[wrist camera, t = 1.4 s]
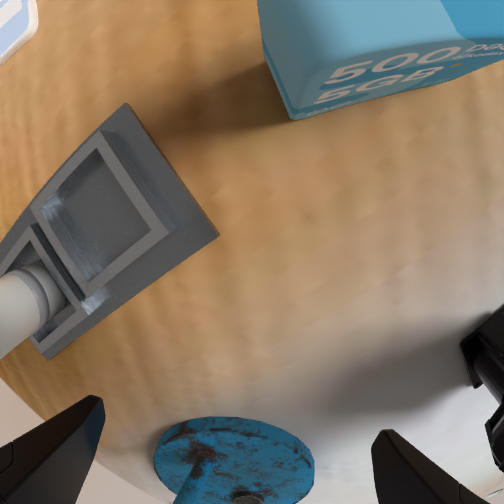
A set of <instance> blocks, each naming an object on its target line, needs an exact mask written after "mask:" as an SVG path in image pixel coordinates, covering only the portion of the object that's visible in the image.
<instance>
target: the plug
mask: <svg viewBox="0 0 504 504" xmlns="http://www.w3.org/2000/svg"><path fill="white" fill-rule="evenodd" d="M64 305H65V294H64V293H63V291H62V290H61V288H60V287H59V285H58V284H57V282H56V281H55V279H54V278H53V276H52V275H51V273H50V272H49V270H48V269H47V267H46V266H45V264H44V262H42V261H34V262H32V263H30V264H28V265H26V266H24V267H22V268H18V269H15V270H13V271H11V272H9V273H7V274H5V275H3V276H2V277H1V278H0V359H2V358H3V357H4V356H5V355H6V354H8V353H9V352H10V351H11V350H13V349H14V348H15V347H16V346H17V345H19V344H20V343H21V342H22V341H24V340H25V339H26V338H27V337H29V336H30V335H32V334H34V333H36V332H37V331H38V330H40V329H41V328H42V327H44V326H45V325H46V324H47V322H48V321H49V320H51V319H52V318H53V317H54V316H56V315H57V314H58V313H60V312H61V311H62V309H63V307H64Z"/></svg>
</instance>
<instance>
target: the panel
mask: <svg viewBox="0 0 504 504" xmlns="http://www.w3.org/2000/svg"><path fill="white" fill-rule="evenodd" d="M219 235H220V234H219V232H218V231H217V229H216V228H215V227H214V225H213V224H212V222H211V221H210V220H209V218H208V217H207V215H206V214H205V213H204V211H203V210H202V208H201V207H200V206H199V204H198V203H197V201H196V200H195V198H194V197H193V196H192V194H191V193H190V191H189V190H188V189H187V187H186V186H185V184H184V183H183V181H182V180H181V179H180V177H179V176H178V174H177V173H176V171H175V170H174V169H173V167H172V166H171V164H170V163H169V161H168V160H167V159H166V157H165V156H164V154H163V153H162V151H161V150H160V149H159V147H158V146H157V144H156V143H155V141H154V140H153V138H152V137H151V136H150V134H149V133H148V131H147V130H146V128H145V127H144V125H143V124H142V123H141V121H140V120H139V118H138V117H137V115H136V114H135V112H134V111H133V110H132V108H131V107H130V105H129V104H127V103H124V104H123V105H122V106H121V107H120V108H119V109H117V110H116V111H115V112H114V113H113V114H112V115H111V116H110V117H109V118H108V119H107V120H106V121H104V122H103V123H102V124H101V125H100V126H99V127H98V128H97V129H96V130H95V131H94V132H93V133H92V134H91V135H90V136H89V137H88V138H87V139H86V140H85V141H84V142H83V143H82V144H81V145H80V146H79V147H78V148H77V149H76V150H75V151H74V153H73V154H72V155H71V156H70V157H69V158H68V159H67V160H66V161H65V162H64V163H63V164H62V166H61V167H60V168H59V169H58V170H57V171H56V172H55V173H54V175H53V176H52V177H51V178H50V179H49V180H48V182H47V183H46V184H45V185H44V186H43V188H42V189H41V190H40V191H39V192H38V194H37V195H36V196H35V197H34V199H33V200H32V201H31V202H30V204H29V205H28V206H27V208H26V209H25V210H24V211H23V213H22V214H21V215H20V217H19V218H18V219H17V221H16V222H15V224H14V225H13V226H12V228H11V229H10V230H9V232H8V233H7V235H6V236H5V238H4V239H3V241H2V242H1V243H0V278H1V277H2V276H3V275H5V274H7V273H9V272H11V271H13V270H15V269H18V268H22V267H24V266H26V265H28V264H30V263H32V262H34V261H42V262H44V264H45V266H46V267H47V269H48V270H49V272H50V273H51V275H52V276H53V278H54V279H55V281H56V282H57V284H58V285H59V287H60V288H61V290H62V291H63V293H64V294H65V305H64V307H63V309H62V311H61V312H60V313H58V314H57V315H56V316H54V317H53V318H52V319H51V320H49V321H48V322H47V324H46V325H45V326H44V327H42V328H41V329H40V330H38V331H37V332H36V333H34V334H32V335H30V336H29V339H30V340H31V341H32V343H33V344H34V346H35V347H36V348H37V349H38V351H39V352H40V353H41V354H43V355H44V357H45V358H46V359H47V360H49V359H51V358H52V357H53V356H55V355H56V354H57V353H58V352H60V351H61V350H62V349H64V348H65V347H66V346H68V345H69V344H70V343H72V342H73V341H74V340H76V339H77V338H78V337H79V336H81V335H82V334H83V333H85V332H86V331H87V330H89V329H90V328H91V327H93V326H94V325H96V324H97V323H98V322H100V321H101V320H102V319H104V318H105V317H106V316H108V315H109V314H110V313H112V312H113V311H114V310H116V309H117V308H119V307H120V306H121V305H123V304H124V303H125V302H127V301H128V300H129V299H131V298H132V297H134V296H135V295H136V294H138V293H139V292H140V291H142V290H143V289H145V288H146V287H147V286H149V285H150V284H152V283H153V282H154V281H156V280H157V279H159V278H160V277H161V276H163V275H164V274H166V273H167V272H168V271H170V270H171V269H173V268H174V267H175V266H177V265H178V264H180V263H181V262H183V261H184V260H185V259H187V258H188V257H190V256H191V255H192V254H194V253H195V252H197V251H198V250H200V249H201V248H202V247H204V246H205V245H207V244H208V243H210V242H211V241H213V240H214V239H215V238H217V237H218V236H219Z"/></svg>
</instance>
